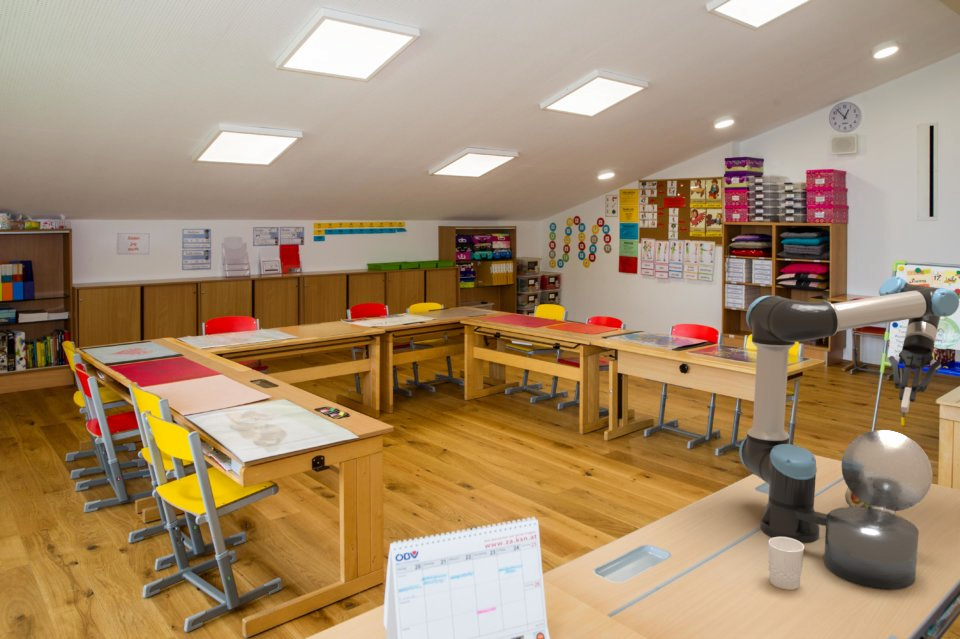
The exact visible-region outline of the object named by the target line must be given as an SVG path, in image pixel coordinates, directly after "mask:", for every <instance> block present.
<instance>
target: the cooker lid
mask: <svg viewBox="0 0 960 639" xmlns="http://www.w3.org/2000/svg"><path fill="white" fill-rule="evenodd" d="M841 458H842V459H841V473H842V477H843V480H844V482H845V484H846V487H847V488H849V489H850V491H851V492H852V493H853V494H854V495H855V496H856V497H857V498H858V499H859V500H861V501H862V502H863V503H865V504H867V505H868V508H870V509H876V510H880V511H884V512H888V513H891V514H894V515H896V512H900V511H905V510H907V509H908V510H909V509H910V508H912V507H914V506H916V505H918V504H919V503H920V502H921V501H922V500H923V499H924V498H925V497H926V496H927V495H928V492H929V491H930V490H931V486H932V483H933V468H932V464H931V461H930V458H929V457H928V455H927V454H926V452H925V450H924V449H923V448H922V447H921V446H920V445H919V444H918V442H916V441H915V440H913V439H912V438H910V437H908V436H907V435H905V434H903V433H899V432H897V431H892V430H886V429H876V430H871V431H867V432H864V433H862V434H860V435H859V436H857V437H856V438H854V439H852V441H851V442H850V443H848V445H847V446H846V448H845V451H844V452H843V455H842V457H841Z"/></svg>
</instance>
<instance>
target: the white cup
mask: <svg viewBox="0 0 960 639" xmlns="http://www.w3.org/2000/svg"><path fill="white" fill-rule="evenodd" d="M804 554H805V545H804V543H801V542H799V541H797V540H795V539H792V538H788V537H774V538H773V537H770V539H768V571H769V572H768V574H769V575H768V577H769V578H768V579H769V583H770V584H771V585H772V586H774V587H776V588H778V589H781V590H787V591H789V590H790V591H791V590H792V591H793V590H797V589H799V587H800V586H801V578H802V577H801V576H802V573H803V572H802V571H803V564H804Z"/></svg>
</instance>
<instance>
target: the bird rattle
mask: <svg viewBox="0 0 960 639" xmlns="http://www.w3.org/2000/svg"><path fill="white" fill-rule="evenodd" d="M844 498H845V502H846V504H847V505H848V507H862V506H863V505H864V508H868V505H867V504H865V503H863V502H862V501H861V500H859V499H858V498H857V497H856V496H855V495H854V494H853V493H852V492H851V491H850V489H849V488H848V487H847V488H846V490H845V494H844Z"/></svg>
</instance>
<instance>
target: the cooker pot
mask: <svg viewBox="0 0 960 639" xmlns="http://www.w3.org/2000/svg"><path fill="white" fill-rule="evenodd" d="M795 519H799V520H803V521H807V522H811V523H815V524H819V526H824V527H825V536H824V537H825V539H824V556H823V557H824V558H823V563H824V566H825V568H827V570H828V571H829V572H831V573H832V574H833V575H834V576H837V577H838V578H840V579H842V580H844V581H847V582H849V583H852V584H854V585H858V586H861V587H865V588H869V589H876V590H883V591H884V590H885V591H887V590H889V591H892V590H901V589H902V590H903V589H906V588H909V587H911V586H912V585H913V584H914V583H915V581H916V571H917V556H918V546H919V533H920V532H919V529H918V527H917V526H916V525H915V524H914V523H912V522H911V521H909V520H907V518H905V517H902V516H900V515H897V514H895V515H894V514H891V513H888V512H884V511H880V510H876V509H870V508H865V507H862V506H860V507H850V506H847V507H846V506H845V507H839V508H835V509H832V510H830V511H829V512H827V513H824V512H823V513H822V512H818V511H811V510H807V509H803V508H798V509H797V510H796V511H795Z"/></svg>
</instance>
